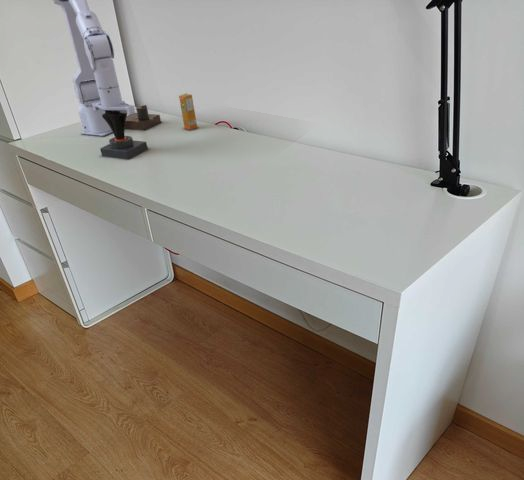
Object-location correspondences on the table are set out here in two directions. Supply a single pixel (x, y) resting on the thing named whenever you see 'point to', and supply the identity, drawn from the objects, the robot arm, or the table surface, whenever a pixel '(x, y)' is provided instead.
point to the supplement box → (188, 111)
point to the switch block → (123, 148)
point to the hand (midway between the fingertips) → (120, 138)
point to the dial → (142, 112)
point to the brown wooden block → (141, 121)
